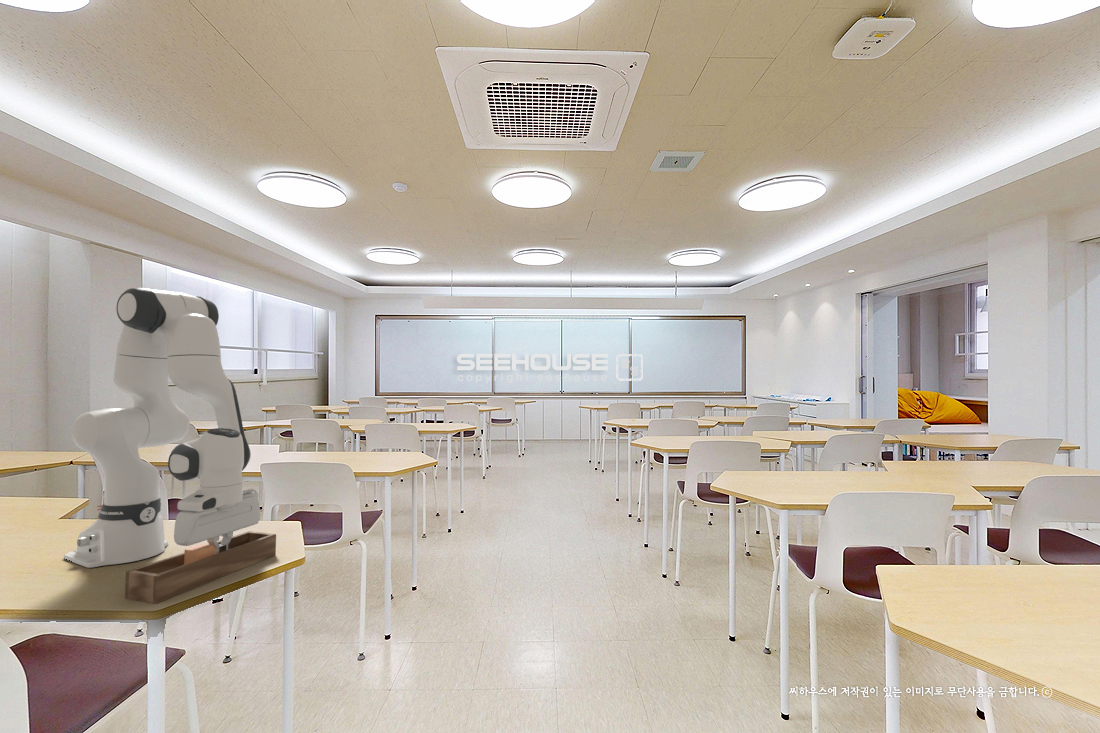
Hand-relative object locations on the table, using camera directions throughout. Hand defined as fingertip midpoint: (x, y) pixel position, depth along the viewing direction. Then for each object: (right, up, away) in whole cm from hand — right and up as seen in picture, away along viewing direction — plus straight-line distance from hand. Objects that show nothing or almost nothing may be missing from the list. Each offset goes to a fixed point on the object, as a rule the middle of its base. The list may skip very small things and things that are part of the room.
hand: (219, 553), depth 119 cm
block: (-1, -1, -5) cm, 5 cm away
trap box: (-1, -4, -3) cm, 5 cm away
